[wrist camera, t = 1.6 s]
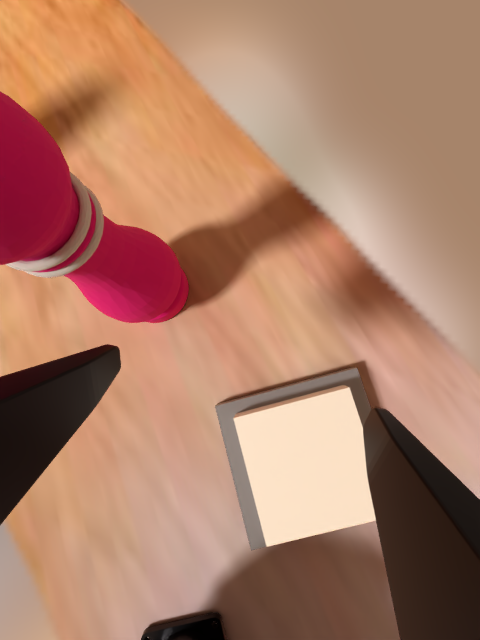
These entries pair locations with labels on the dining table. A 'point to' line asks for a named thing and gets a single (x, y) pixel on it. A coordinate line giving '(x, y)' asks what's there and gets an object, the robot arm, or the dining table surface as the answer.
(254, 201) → the dining table surface
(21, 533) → the dining table surface
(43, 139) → the pepper mill
